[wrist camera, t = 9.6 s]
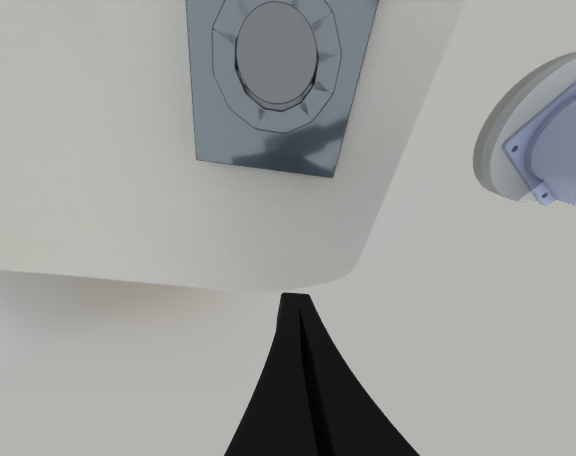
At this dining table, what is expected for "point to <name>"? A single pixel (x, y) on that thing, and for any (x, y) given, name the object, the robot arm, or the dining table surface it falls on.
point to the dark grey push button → (276, 52)
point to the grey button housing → (275, 117)
